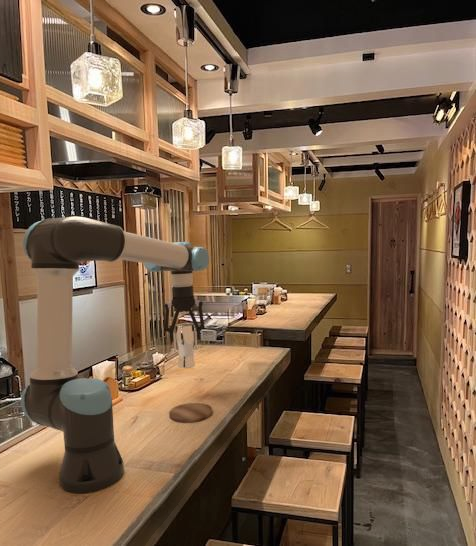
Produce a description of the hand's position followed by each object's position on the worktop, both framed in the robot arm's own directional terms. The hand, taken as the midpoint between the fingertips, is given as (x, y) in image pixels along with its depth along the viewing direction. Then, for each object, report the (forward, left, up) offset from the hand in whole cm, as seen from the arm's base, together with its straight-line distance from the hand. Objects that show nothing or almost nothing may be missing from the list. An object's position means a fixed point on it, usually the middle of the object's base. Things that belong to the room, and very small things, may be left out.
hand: (185, 349), depth 160 cm
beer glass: (0, 0, -6) cm, 6 cm away
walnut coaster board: (-10, -10, -18) cm, 23 cm away
